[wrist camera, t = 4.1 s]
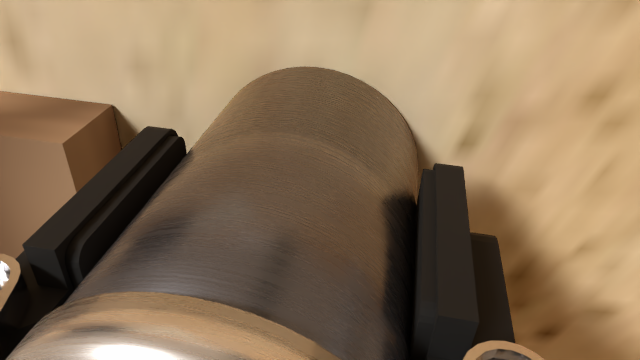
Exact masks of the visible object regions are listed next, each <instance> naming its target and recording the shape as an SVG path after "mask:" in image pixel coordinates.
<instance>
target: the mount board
mask: <svg viewBox="0 0 640 360" xmlns="http://www.w3.org/2000/svg"><path fill="white" fill-rule="evenodd" d="M121 150H122V149H121V145H120V140H119V136H118V131H117V126H116V122H115V117H114V112H113V108H112V105H109V104H100V103H92V102H84V101H76V100H68V99H60V98H51V97H43V96H35V95H27V94H19V93H11V92H2V91H0V254H5V255H8V256H11V257H13V258H14V259H16V258H17V257H18V256H19V255H20V254H21V253H22V252H23V251H24V248H23V246H22V244H23V243H24V242H25V241H26V240H28V239H29V238H30V237H31V236H32V235H33V234H34V233H35V232H36V231H37V230H38V229H39V228H40V227H41V226H42V225H43V224H44V223H45V222H46V221H48V220H49V219H50V218H51V217H52V216H53V215H54V214H55V213H56V212H57V211H58V210H59V209H60V208H61V207H62V206H63V205H64V204H65V203H66V202H68V201H69V200H70V199H71V198H72V197H73V196H74V195H75V194H76V193H77V192H78V191H79V190H80V189H81V188H82V187H83V186H84V185H85V184H86V183H87V182H89V181H90V180H91V179H92V178H93V177H94V176H95V175H96V174H97V173H98V172H99V171H100V170H101V169H102V168H103V167H104V166H105V165H106V164H107V163H109V162H110V161H111V160H112V159H113V158H114V157H115V156H116V155H117V154H118V153H119V152H120V151H121Z"/></svg>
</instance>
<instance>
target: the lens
mask: <svg viewBox="0 0 640 360" xmlns="http://www.w3.org/2000/svg"><path fill="white" fill-rule="evenodd" d="M417 191H418V154H417V150H416V145H415V142H414V139H413V136H412V134H411V131H410V129H409V127H408V125H407V124H406V122H405V120H404V118H403V117H402V116H401V114H400V113H399V112H398V110H397V109H396V108H395V107H394V106H393V105H392V104H391V103H390V102H389V101H388V100H387V98H385V97H384V96H383V95H382V94H380V93H379V92H378V91H377V90H375V89H374V88H373V87H371V86H369V85H368V84H366V83H364V82H363V81H361V80H359V79H356V78H354V77H352V76H350V75H347V74H344V73H341V72H338V71H334V70H330V69H324V68H318V67H294V68H286V69H282V70H277V71H274V72H271V73H268V74H266V75H263V76H261V77H259V78H257V79H256V80H254V81H252V82H250V83H249V84H248V85H246V86H245V87H244V88H243V89H241V90H240V91H239V92H238V93H237V94H236V95H235V96H234V98H233V99H232V100H231V101H230V102H229V103H228V105H227V106H226V107H225V108H224V110H223V111H222V112H221V113H220V114H219V116H218V117H217V118H216V119H215V120H214V122H213V123H212V124H211V125H210V127H209V128H208V129H207V130H206V131H205V133H204V134H203V135H202V136H201V137H200V139H199V140H198V141H197V142H196V144H195V145H194V146H193V147H192V148H191V150H190V151H189V152H188V153H187V154H186V156H185V157H184V158H183V159H182V161H181V162H180V163H179V164H178V165H177V167H176V168H175V169H174V170H173V171H172V173H171V174H170V175H169V176H168V178H167V179H166V180H165V181H164V182H163V184H162V185H161V186H160V187H159V188H158V190H157V191H156V192H155V193H154V195H153V196H152V197H151V198H150V199H149V201H148V202H147V203H146V204H145V205H144V207H143V208H142V209H141V210H140V212H139V213H138V214H137V215H136V216H135V218H134V219H133V220H132V221H131V222H130V224H129V225H128V226H127V227H126V229H125V230H124V231H123V232H122V233H121V235H120V236H119V237H118V238H117V239H116V241H115V242H114V243H113V244H112V246H111V247H110V248H109V249H108V250H107V252H106V253H105V254H104V255H103V256H102V258H101V259H100V260H99V261H98V263H97V264H96V265H95V266H94V267H93V269H92V270H91V271H90V272H89V273H88V275H87V276H86V277H85V278H84V280H83V281H82V282H81V283H80V284H79V286H78V287H77V288H76V289H75V290H74V292H73V293H72V294H71V295H70V297H69V298H68V299H67V300H66V301H65V303H64V304H63V305H61V306H59V307H58V308H56V309H54V310H53V311H51V312H50V313H48V314H46V315H45V316H44V317H43V318H42V319H41V320H40V321H39V322H38V323H37V324H36V325H35V326H34V327H33V328H32V329H31V330H30V331H29V332H28V334H27V335H26V336H25V337H24V338H23V339H22V341H21V342H20V343H19V344H18V345H17V347H16V348H15V349H14V350H13V351H12V352H11V354H10V355H9V356H8V357H7V358H6V360H410V342H411V319H412V295H413V272H414V249H415V226H416V205H417Z"/></svg>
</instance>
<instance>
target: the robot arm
mask: <svg viewBox="0 0 640 360" xmlns="http://www.w3.org/2000/svg"><path fill="white" fill-rule="evenodd" d="M185 156H186V146H185V141H184V139H183V138H182V137H178V135H177V133H176V131H175V130H173V129H166V128H158V127H151V126H147V127H146V128H144V129H143V130H142V131H141V132H140V133H139V134H138V135H137V136H136V137H135V138H134V139H133V140H132V141H131V142H130V143H129V144H127V145H126V146H125V147H124V148H123V149H122V150H121V151H120V152H119V153H118V154H117V155H116V156H115V157H114V158H113V159H112V160H111V161H110V162H109V163H107V164H106V165H105V166H104V167H103V168H102V169H101V170H100V171H99V172H98V173H97V174H96V175H95V176H94V177H93V178H92V179H91V180H90V181H89V182H87V183H86V184H85V185H84V186H83V187H82V188H81V189H80V190H79V191H78V192H77V193H76V194H75V195H74V196H73V197H72V198H71V199H70V200H69V201H68V202H66V203H65V204H64V205H63V206H62V207H61V208H60V209H59V210H58V211H57V212H56V213H55V214H54V215H53V216H52V217H51V218H50V219H49V220H48V221H46V222H45V223H44V224H43V225H42V226H41V227H40V228H39V229H38V230H37V231H36V232H35V233H34V234H33V235H32V236H31V237H30V238H29V239H28V240H26V241H25V242H24V243H23V244H22V246H23V248H24V251H23V252H22V253H21V254H20V255H19V256H18V257H17V258H16V259H14V258H13V257H11V256H8V255H5V254H0V360H6V358H7V357H8V356H9V355H10V354H11V352H12V351H13V350H14V349H15V348H16V347H17V345H18V344H19V343H20V342H21V341H22V339H23V338H24V337H25V336H26V335H27V334H28V332H29V331H30V330H31V329H32V328H33V327H34V326H35V325H36V324H37V323H38V322H39V321H40V320H41V319H42V318H43V317H44V316H45V315H46V314H48V313H50V312H51V311H53V310H54V309H56V308H58V307H59V306H61V305H63V304H64V303H65V301H66V300H67V299H68V298H69V297H70V295H71V294H72V293H73V292H74V290H75V289H76V288H77V287H78V286H79V284H80V283H81V282H82V281H83V280H84V278H85V277H86V276H87V275H88V273H89V272H90V271H91V270H92V269H93V267H94V266H95V265H96V264H97V263H98V261H99V260H100V259H101V258H102V256H103V255H104V254H105V253H106V252H107V250H108V249H109V248H110V247H111V246H112V244H113V243H114V242H115V241H116V239H117V238H118V237H119V236H120V235H121V233H122V232H123V231H124V230H125V229H126V227H127V226H128V225H129V224H130V222H131V221H132V220H133V219H134V218H135V216H136V215H137V214H138V213H139V212H140V210H141V209H142V208H143V207H144V205H145V204H146V203H147V202H148V201H149V199H150V198H151V197H152V196H153V195H154V193H155V192H156V191H157V190H158V188H159V187H160V186H161V185H162V184H163V182H164V181H165V180H166V179H167V178H168V176H169V175H170V174H171V173H172V171H173V170H174V169H175V168H176V167H177V165H178V164H179V163H180V162H181V161H182V159H183V158H184V157H185ZM410 360H544V359H543V358H542V357H541V356H539V355H538V354H537V353H535V352H533V351H531V350H530V349H528V348H526V347H524V346H522V345H519V344H515V339H514V333H513V327H512V321H511V315H510V309H509V304H508V298H507V292H506V286H505V280H504V275H503V269H502V263H501V257H500V251H499V245H498V241H497V238H496V237H495V236H492V235H485V234H478V233H471V232H470V229H469V219H468V209H467V199H466V189H465V180H464V170H463V167H460V166H453V165H445V164H437V163H435V165H434V168H433V170H429V169H423V173H422V178H421V183H420V189H419V194H418V199H417V205H416V226H415V249H414V272H413V295H412V319H411V342H410Z"/></svg>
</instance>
